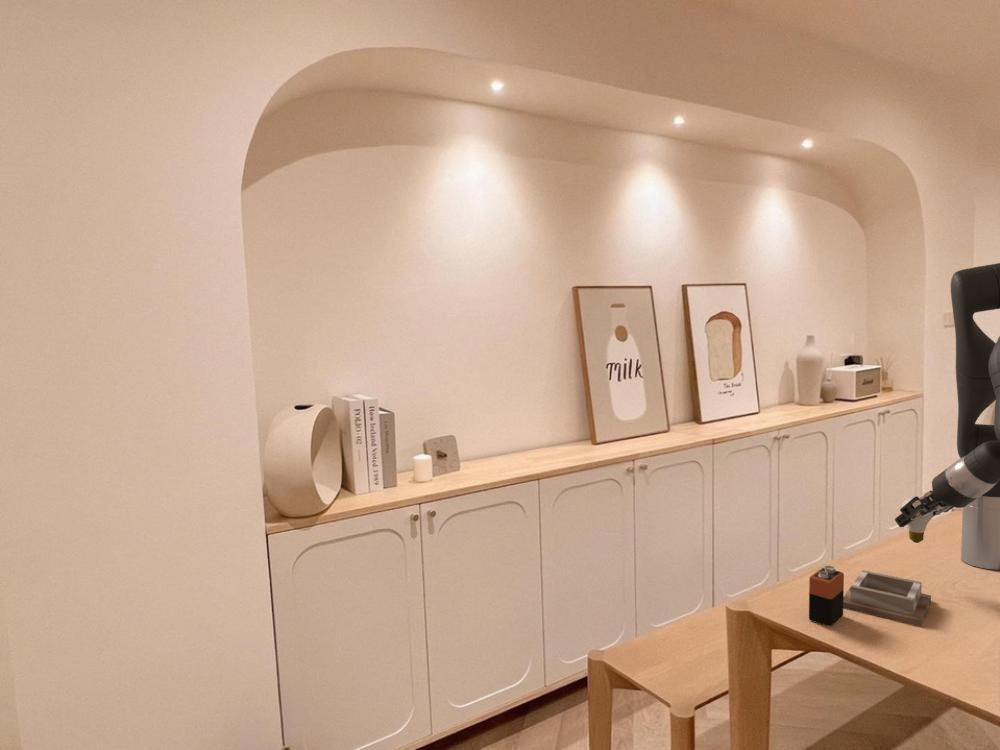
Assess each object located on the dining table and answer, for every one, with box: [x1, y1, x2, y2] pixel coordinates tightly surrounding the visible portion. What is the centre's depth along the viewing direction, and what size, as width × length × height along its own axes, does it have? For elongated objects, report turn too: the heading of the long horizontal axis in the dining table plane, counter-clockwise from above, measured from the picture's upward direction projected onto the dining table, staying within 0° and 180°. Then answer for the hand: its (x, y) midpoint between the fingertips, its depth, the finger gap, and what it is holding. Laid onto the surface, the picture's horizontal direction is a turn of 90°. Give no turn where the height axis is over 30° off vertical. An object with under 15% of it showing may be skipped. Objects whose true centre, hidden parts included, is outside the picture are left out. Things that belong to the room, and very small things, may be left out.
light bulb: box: [900, 497, 934, 544], centre depth 140 cm, size 6×6×10 cm
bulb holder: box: [843, 569, 932, 627], centre depth 133 cm, size 14×14×4 cm
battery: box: [808, 565, 845, 627], centre depth 127 cm, size 4×7×10 cm, turn 133°
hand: (909, 521), depth 142 cm, fingers closed on light bulb, 6 cm apart
